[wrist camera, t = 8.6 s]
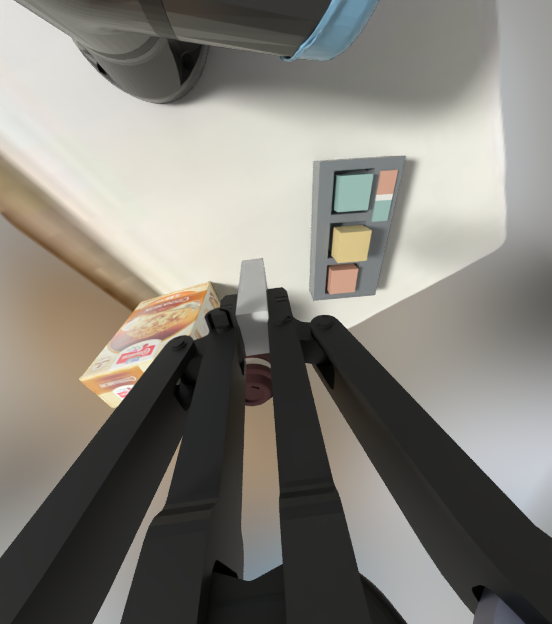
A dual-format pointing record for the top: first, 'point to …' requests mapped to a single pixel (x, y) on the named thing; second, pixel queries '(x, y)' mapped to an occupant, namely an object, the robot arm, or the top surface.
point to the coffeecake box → (148, 339)
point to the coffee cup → (258, 379)
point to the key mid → (350, 243)
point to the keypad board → (352, 220)
